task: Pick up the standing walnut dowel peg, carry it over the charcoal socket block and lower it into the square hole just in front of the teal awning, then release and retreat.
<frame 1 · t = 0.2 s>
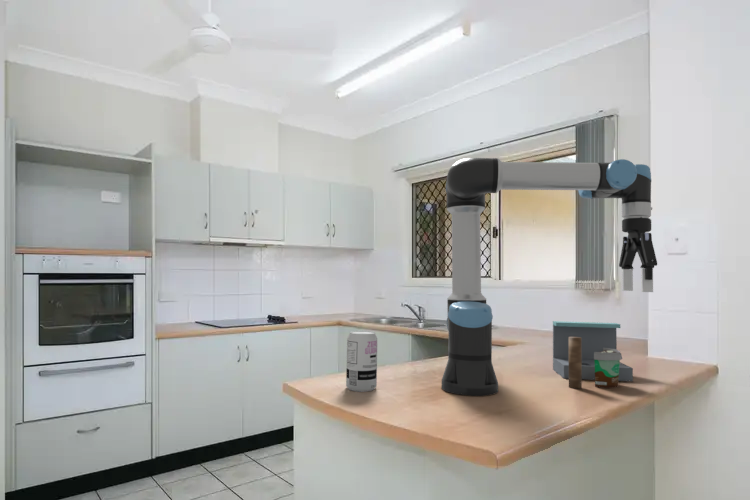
hand: (637, 291, 139), 27 cm above the countertop, fingers open, 13 cm apart
socket: (590, 375, 153), on the countertop
peg: (575, 387, 136), on the countertop
food container: (610, 386, 139), on the countertop
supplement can: (361, 389, 129), on the countertop
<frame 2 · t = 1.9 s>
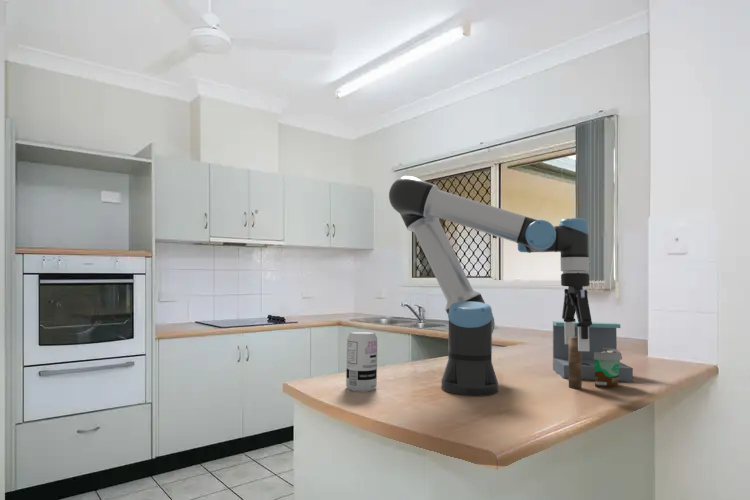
hand: (576, 347, 136), 11 cm above the countertop, fingers open, 13 cm apart
nothing on the countertop moved.
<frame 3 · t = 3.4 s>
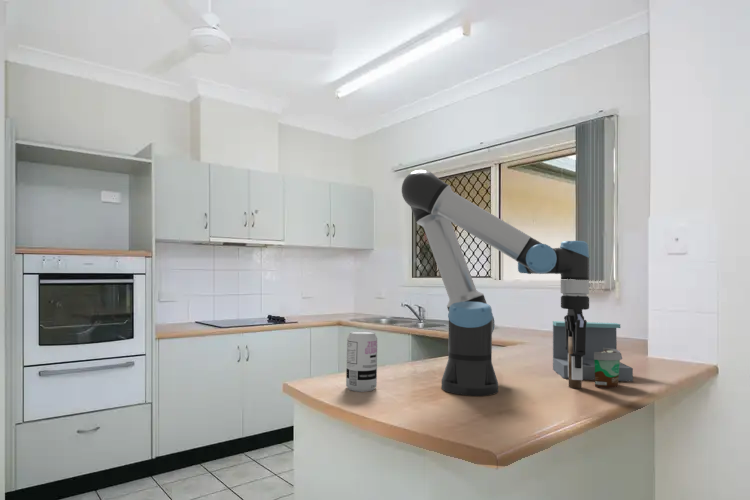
hand: (575, 378, 136), 3 cm above the countertop, fingers closed on peg, 3 cm apart
peg: (575, 387, 136), on the countertop, touching gripper
everything else where it was.
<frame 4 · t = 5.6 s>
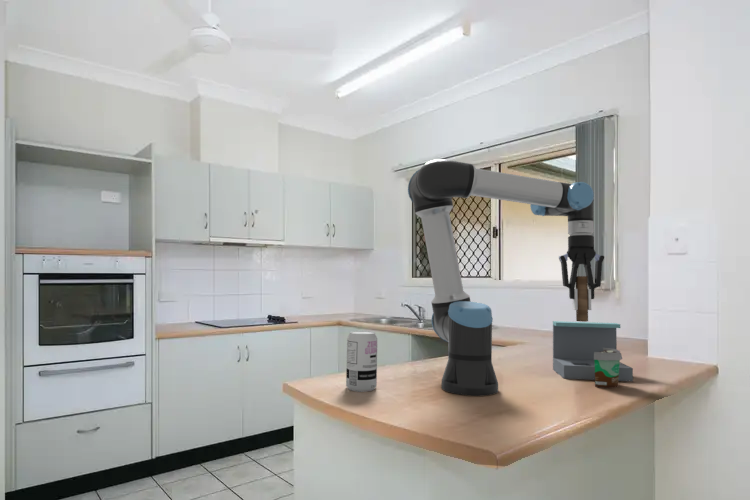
hand: (581, 309, 151), 21 cm above the countertop, fingers closed on peg, 3 cm apart
peg: (582, 321, 150), point 17 cm above the countertop, touching gripper
everything else where it was.
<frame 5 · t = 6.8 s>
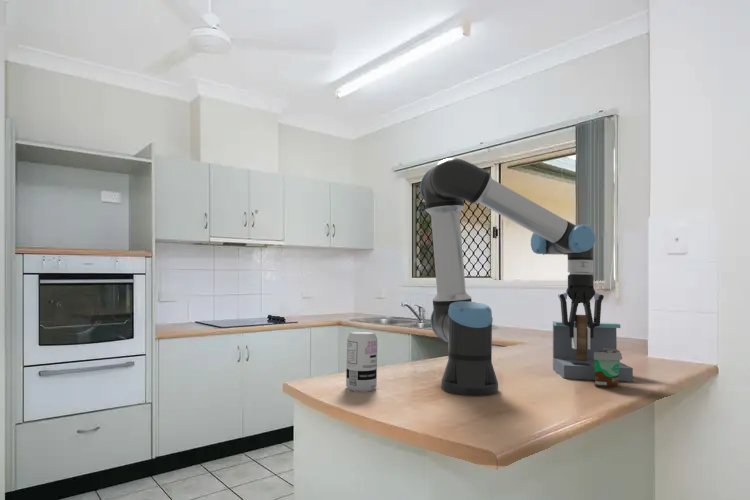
hand: (581, 348, 151), 9 cm above the countertop, fingers closed on peg, 3 cm apart
peg: (581, 359, 151), point 5 cm above the countertop, touching gripper
everything else where it was.
when the fingers open (5 cm above the countertop, at t = 7.8 s): peg drops 2 cm, resting in socket.
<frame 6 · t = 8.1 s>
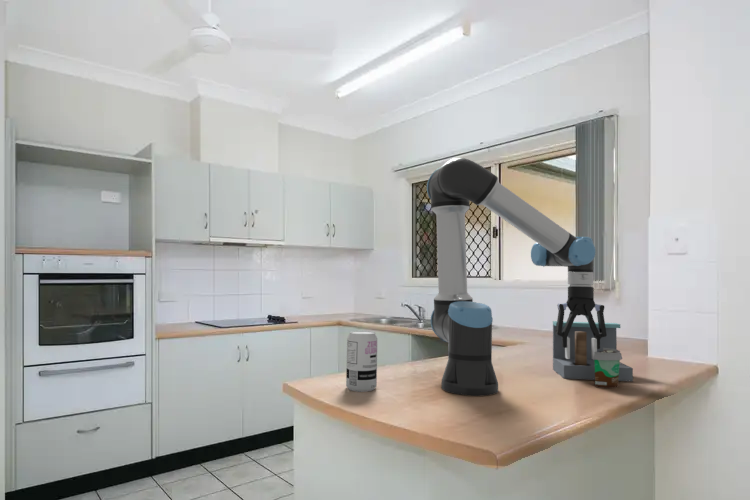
hand: (580, 358, 151), 6 cm above the countertop, fingers open, 7 cm apart
peg: (580, 377, 150), resting in socket
everything else where it was.
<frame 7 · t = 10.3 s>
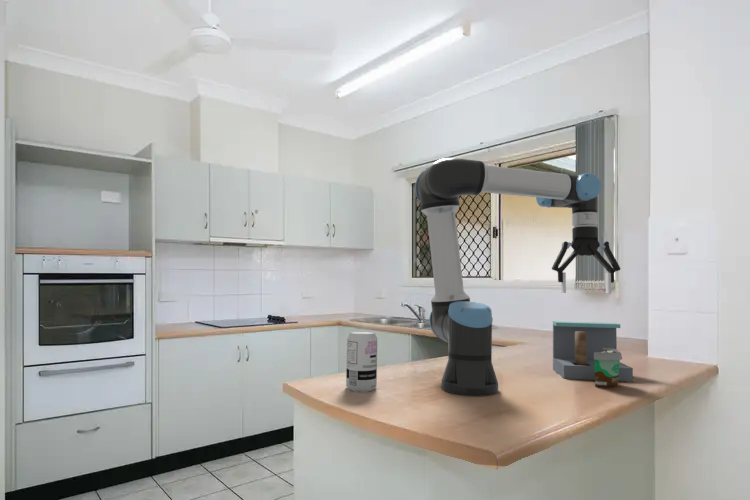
hand: (585, 293, 153), 26 cm above the countertop, fingers open, 13 cm apart
nothing on the countertop moved.
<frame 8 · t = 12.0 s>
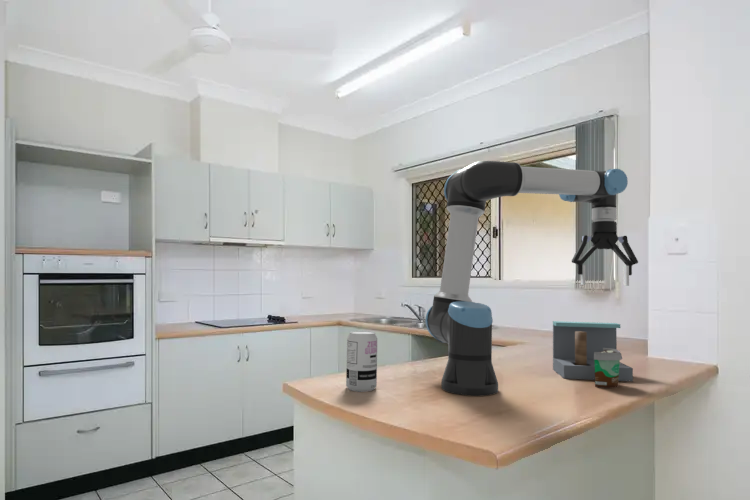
hand: (604, 285, 159), 29 cm above the countertop, fingers open, 13 cm apart
nothing on the countertop moved.
at the end: peg 0.1 cm from the target spot on the socket, point 0.0 cm above the socket's base; peg tilted 0°; the gripper is holding nothing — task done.
